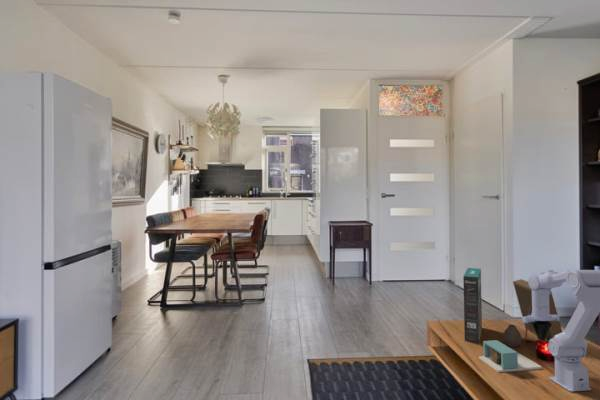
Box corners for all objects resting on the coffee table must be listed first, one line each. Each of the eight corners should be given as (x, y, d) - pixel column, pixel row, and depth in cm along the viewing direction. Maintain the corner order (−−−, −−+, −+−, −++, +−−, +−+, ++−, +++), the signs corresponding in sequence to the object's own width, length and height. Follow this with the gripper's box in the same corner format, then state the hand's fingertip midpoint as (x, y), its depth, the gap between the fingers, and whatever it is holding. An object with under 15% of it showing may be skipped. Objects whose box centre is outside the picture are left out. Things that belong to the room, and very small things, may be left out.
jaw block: (506, 363, 141) (506, 351, 141) (496, 364, 140) (496, 351, 140) (499, 359, 145) (499, 346, 145) (490, 359, 144) (490, 347, 144)
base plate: (541, 368, 138) (541, 358, 138) (498, 372, 136) (498, 361, 136) (519, 355, 150) (519, 345, 150) (479, 358, 148) (478, 348, 148)
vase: (524, 348, 156) (523, 328, 156) (506, 347, 157) (506, 327, 157) (517, 342, 163) (517, 323, 163) (501, 341, 164) (501, 322, 164)
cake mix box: (479, 343, 163) (477, 277, 163) (464, 340, 166) (463, 276, 166) (481, 327, 182) (480, 268, 182) (468, 325, 185) (467, 267, 185)
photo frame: (534, 328, 178) (532, 278, 178) (565, 347, 157) (564, 290, 157) (504, 329, 179) (502, 279, 179) (531, 347, 157) (529, 291, 157)
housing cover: (517, 368, 137) (517, 352, 137) (503, 369, 136) (502, 353, 136) (497, 354, 148) (496, 340, 148) (483, 355, 148) (483, 341, 148)
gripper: (549, 301, 146) (549, 334, 146) (516, 303, 144) (516, 336, 144) (563, 306, 139) (564, 341, 139) (529, 308, 137) (530, 343, 137)
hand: (541, 339), depth 141 cm, fingers closed
